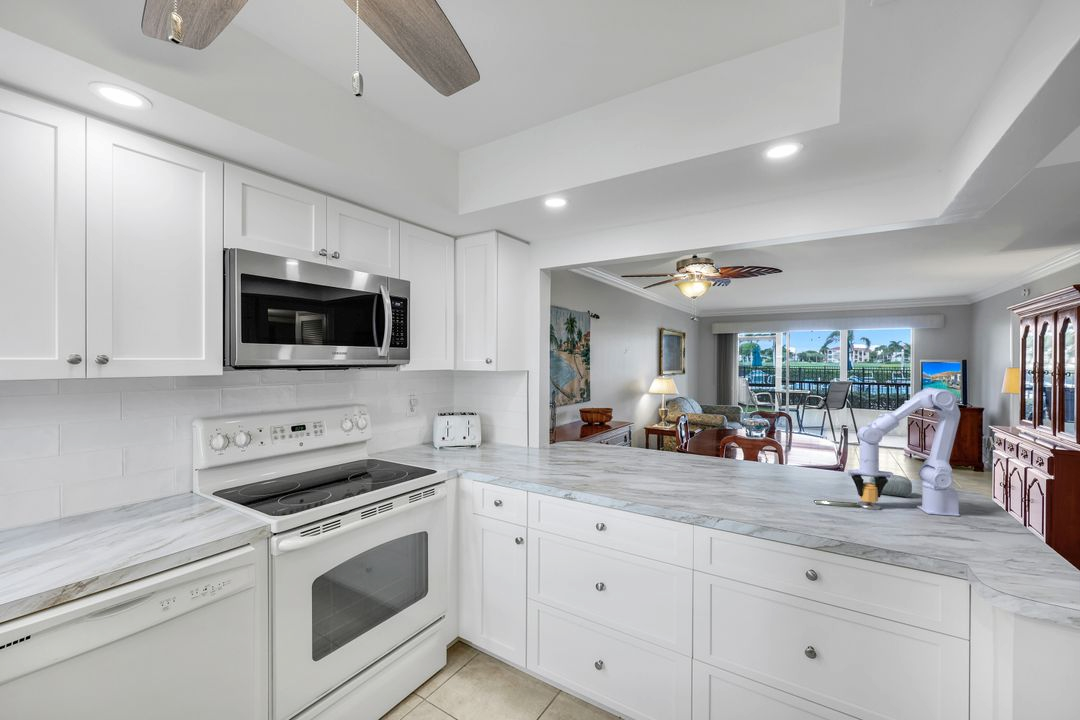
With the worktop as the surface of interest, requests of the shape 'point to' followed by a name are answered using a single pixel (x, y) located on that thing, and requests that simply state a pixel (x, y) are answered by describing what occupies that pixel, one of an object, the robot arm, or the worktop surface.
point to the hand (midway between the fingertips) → (869, 496)
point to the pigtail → (851, 504)
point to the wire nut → (869, 492)
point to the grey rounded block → (896, 486)
